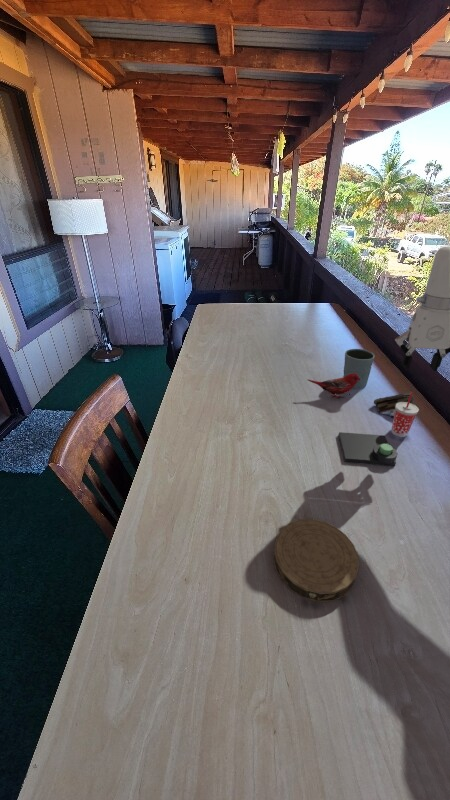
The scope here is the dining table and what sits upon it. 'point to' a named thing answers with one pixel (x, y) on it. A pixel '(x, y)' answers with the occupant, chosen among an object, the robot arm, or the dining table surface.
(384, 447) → the tare button
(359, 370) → the green cylindrical pot
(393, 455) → the scale
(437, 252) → the robot arm
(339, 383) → the decorative bird figurine
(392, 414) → the chocolate cake
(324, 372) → the dining table surface
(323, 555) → the wood log slice
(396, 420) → the beverage cup
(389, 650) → the dining table surface
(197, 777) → the dining table surface
